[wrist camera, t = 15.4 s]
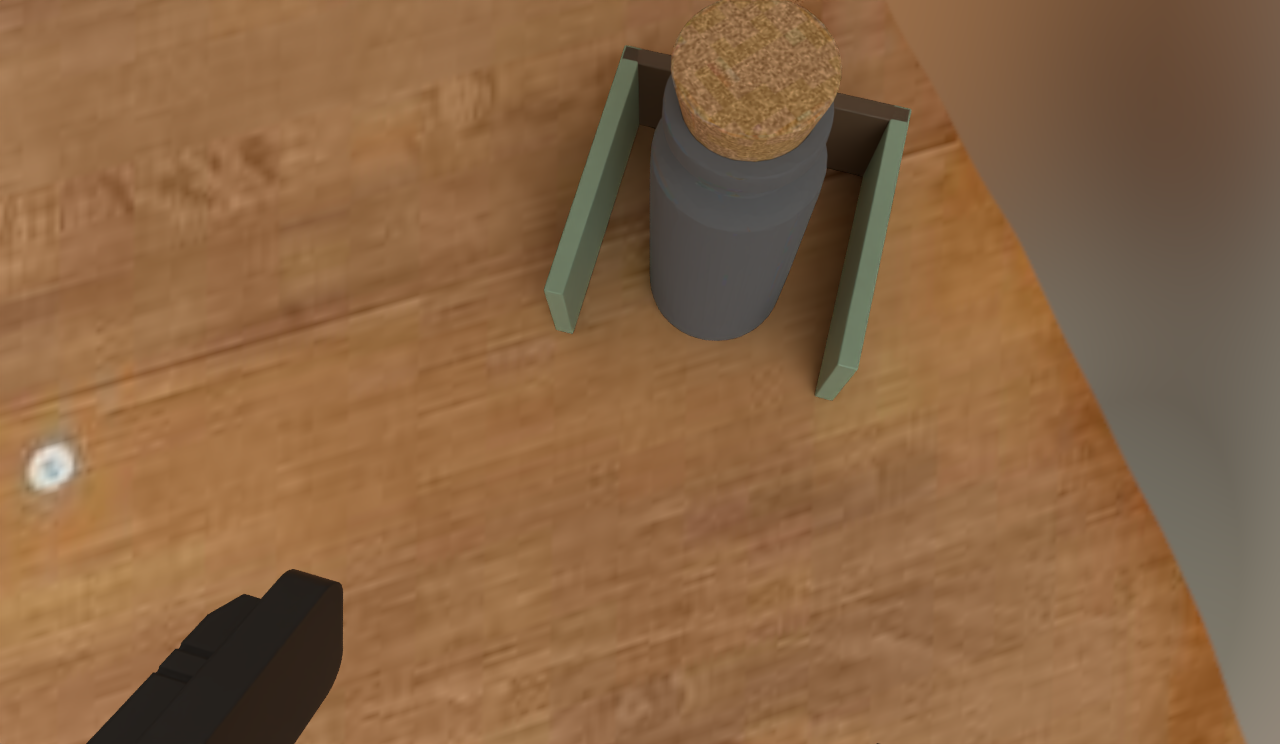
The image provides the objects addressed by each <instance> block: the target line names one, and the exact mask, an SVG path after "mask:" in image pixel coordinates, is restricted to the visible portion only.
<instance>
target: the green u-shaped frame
mask: <svg viewBox="0 0 1280 744" xmlns="http://www.w3.org/2000/svg"><path fill="white" fill-rule="evenodd" d="M671 57H672V56H671V55H667V54H662V53H658V52H653V51H649V50H645V49H641V48H636V47H632V46H627V45H626V46H625V47H624V50H623V53H622V56H621V59H620V62H619V65H618V68H617V71H616V74H615V77H614V80H613V83H612V86H611V89H610V92H609V95H608V98H607V101H606V104H605V107H604V110H603V113H602V116H601V119H600V122H599V125H598V128H597V131H596V134H595V137H594V140H593V143H592V146H591V149H590V152H589V155H588V158H587V161H586V164H585V167H584V170H583V173H582V176H581V179H580V182H579V185H578V188H577V191H576V194H575V197H574V200H573V203H572V206H571V209H570V212H569V215H568V218H567V221H566V224H565V227H564V230H563V233H562V236H561V239H560V242H559V245H558V248H557V251H556V254H555V257H554V260H553V263H552V266H551V269H550V272H549V276H548V279H547V282H546V285H545V288H544V292H545V296H546V299H547V302H548V305H549V308H550V312H551V315H552V318H553V321H554V324H555V328H556V330H559V331H563V332H567V333H571V334H572V333H573V332H574V329H575V326H576V322H577V319H578V316H579V313H580V310H581V307H582V303H583V300H584V297H585V294H586V291H587V288H588V285H589V281H590V278H591V275H592V272H593V269H594V266H595V262H596V259H597V256H598V253H599V250H600V247H601V243H602V240H603V237H604V234H605V231H606V228H607V225H608V221H609V218H610V215H611V212H612V209H613V206H614V202H615V199H616V196H617V193H618V190H619V187H620V183H621V180H622V177H623V174H624V171H625V168H626V164H627V161H628V158H629V155H630V152H631V149H632V146H633V142H634V139H635V136H636V133H637V130H638V127H639V124H641V125H645V126H649V127H654V128H657V125H658V123H659V121H660V119H661V118H662V109H663V97H664V91H665V87H666V84H667V81H668V79H669V77H670V75H671ZM910 115H911V109H908V108H904V107H899V106H895V105H890V104H886V103H881V102H877V101H872V100H868V99H863V98H859V97H854V96H850V95H846V94H841V93H837V94H836V96H835V99H834V117H833V124H832V127H831V131H830V134H829V137H828V140H827V142H826V148H827V168H830V169H834V170H839V171H843V172H847V173H852V174H856V175H860V176H863V179H862V184H861V188H860V193H859V197H858V202H857V206H856V211H855V216H854V220H853V225H852V229H851V234H850V238H849V243H848V247H847V252H846V256H845V261H844V265H843V270H842V274H841V279H840V283H839V288H838V292H837V297H836V302H835V306H834V311H833V315H832V320H831V324H830V329H829V333H828V338H827V342H826V347H825V351H824V356H823V360H822V365H821V369H820V374H819V378H818V383H817V387H816V392H815V396H816V397H820V398H824V399H827V400H833V399H834V398H835V397H836V395H837V394H838V393H839V392H840V391H841V389H842V388H843V387H844V386H845V384H846V383H847V382H848V381H849V379H850V378H851V377H852V376H853V375H854V373H855V372H856V371H857V370H858V366H859V361H860V357H861V352H862V347H863V342H864V337H865V332H866V328H867V323H868V318H869V313H870V308H871V303H872V299H873V294H874V289H875V284H876V279H877V274H878V270H879V265H880V260H881V255H882V250H883V246H884V241H885V236H886V231H887V226H888V221H889V217H890V212H891V207H892V202H893V197H894V192H895V188H896V183H897V178H898V173H899V168H900V163H901V159H902V154H903V149H904V144H905V139H906V135H907V130H908V125H909V120H910Z"/></svg>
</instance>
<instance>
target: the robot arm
mask: <svg viewBox="0 0 1280 744" xmlns="http://www.w3.org/2000/svg"><path fill="white" fill-rule="evenodd" d="M342 653H343V588H342V585H341V584H340V583H339V582H336V581H333V580H329V579H326V578H322V577H319V576H316V575H312V574H309V573H305V572H302V571H299V570H295V569H291V570H289V571H287V572H285V573H284V574H283V575H282V576H281V577H280V578H279V579H278V580H277V581H276V583H275V584H274V585H273V586H272V587H271V588H270V589H269V590H268V592H267V593H266V594H265V595H264V596H263V597H262V598H261V599H260V598H256V597H253V596H250V595H246V594H243V595H241V596H239V597H238V598H236V599H234V600H232V601H231V602H229V603H227V604H225V605H224V606H222V607H220V608H218V609H217V610H215V611H213V612H211V613H210V614H208V615H207V616H206V617H205V618H204V619H203V620H202V621H201V622H200V623H199V625H198V626H197V627H196V628H195V629H194V630H193V631H192V632H191V633H190V634H189V635H188V636H187V637H186V638H185V639H184V640H183V642H182V643H181V646H180V648H179V649H175V650H174V651H173V652H172V653H171V654H170V655H169V656H168V657H167V659H166V660H165V661H164V662H163V663H162V664H161V665H160V666H159V669H158V671H157V672H156V673H154V672H153V673H152V674H151V676H150V677H149V678H148V679H147V680H146V681H145V682H144V683H143V684H142V685H141V686H140V687H139V688H138V689H137V690H136V691H135V693H134V694H133V695H132V696H131V697H130V698H129V699H128V700H127V701H126V702H125V703H124V704H123V705H122V706H121V707H120V708H119V710H118V711H117V712H116V713H115V714H114V715H113V716H112V717H111V718H110V719H109V720H108V721H107V722H106V723H105V724H104V725H103V727H102V728H101V729H100V730H99V731H98V732H97V733H96V734H95V735H94V736H93V737H92V738H91V739H90V740H89V741H88V742H87V744H294V743H295V742H296V740H297V739H298V737H299V736H300V735H301V733H302V732H303V730H304V729H305V727H306V726H307V724H308V723H309V721H310V720H311V718H312V717H313V715H314V714H315V712H316V711H317V709H318V708H319V707H320V705H321V704H322V702H323V701H324V699H325V698H326V696H327V695H328V693H329V691H330V689H331V687H332V685H333V683H334V681H335V679H336V676H337V674H338V671H339V668H340V664H341V660H342ZM877 744H878V743H877Z"/></svg>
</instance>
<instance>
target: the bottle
mask: <svg viewBox="0 0 1280 744" xmlns="http://www.w3.org/2000/svg"><path fill="white" fill-rule="evenodd" d="M841 72H842V66H841V58H840V53H839V50H838V47H837V45H836V43H835V41H834V38H833V37H832V35H831V34H830V32H829V31H828V30H827V28H826V27H825V25H824V24H823V23H822V22H821V21H820V20H818V19H817V18H816V17H815V16H814V15H813V14H812V13H810V12H809V11H808V10H806V9H804V8H803V7H801V6H799V5H797V4H795V3H792V2H790V1H787V0H720V1H717V2H715V3H714V4H712V5H710V6H708V7H706V8H704V9H702V10H701V11H700V12H698V13H697V14H696V15H695V16H694V17H693V18H692V19H691V20H690V21H689V22H688V23H686V25H685V26H684V28H683V29H682V31H681V32H680V34H679V36H678V38H677V40H676V42H675V45H674V48H673V52H672V57H671V75H670V77H669V79H668V81H667V84H666V87H665V91H664V97H663V109H662V118H661V119H660V121H659V123H658V125H657V128H656V130H655V132H654V137H653V141H652V145H651V159H650V283H651V290H652V294H653V297H654V300H655V302H656V304H657V306H658V308H659V310H660V311H661V313H662V314H663V316H664V317H665V318H666V319H667V320H668V321H669V322H670V323H671V324H672V325H673V326H675V327H676V328H677V329H679V330H680V331H682V332H684V333H686V334H688V335H690V336H693V337H696V338H700V339H704V340H716V341H719V340H728V339H733V338H737V337H740V336H742V335H745V334H747V333H749V332H750V331H752V330H753V329H755V328H756V327H758V326H759V325H760V324H761V323H762V322H763V321H764V320H765V319H766V318H767V317H768V316H769V314H770V313H771V311H772V310H773V308H774V306H775V304H776V302H777V300H778V297H779V295H780V292H781V290H782V288H783V285H784V283H785V281H786V278H787V276H788V274H789V271H790V268H791V266H792V263H793V261H794V258H795V256H796V253H797V250H798V248H799V245H800V243H801V240H802V237H803V235H804V232H805V230H806V227H807V225H808V222H809V219H810V217H811V214H812V212H813V209H814V206H815V204H816V201H817V199H818V196H819V193H820V190H821V187H822V184H823V181H824V177H825V174H826V168H827V148H826V142H827V140H828V137H829V134H830V131H831V127H832V124H833V117H834V99H835V96H836V94H837V92H838V88H839V84H840V81H841Z"/></svg>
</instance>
